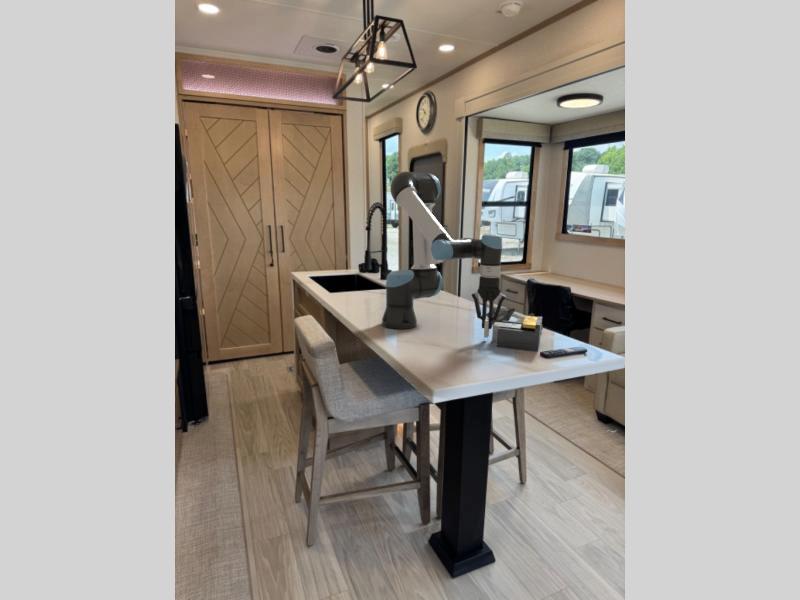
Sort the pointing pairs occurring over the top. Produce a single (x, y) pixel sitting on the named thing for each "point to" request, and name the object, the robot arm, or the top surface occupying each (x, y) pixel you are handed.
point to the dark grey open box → (521, 335)
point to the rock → (502, 314)
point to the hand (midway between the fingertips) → (486, 336)
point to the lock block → (503, 325)
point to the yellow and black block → (529, 315)
